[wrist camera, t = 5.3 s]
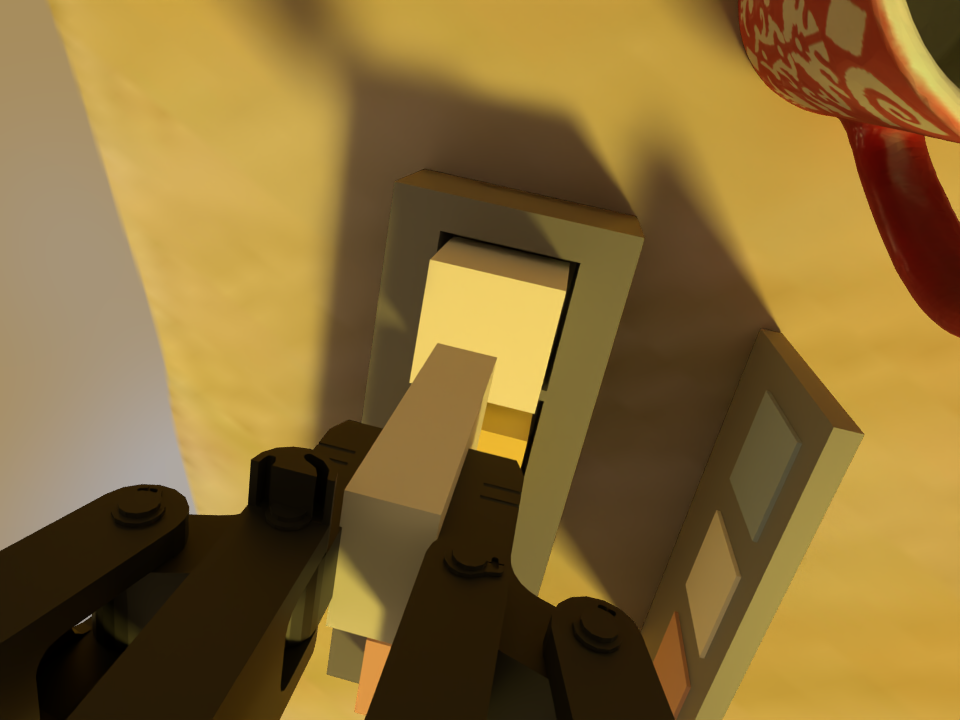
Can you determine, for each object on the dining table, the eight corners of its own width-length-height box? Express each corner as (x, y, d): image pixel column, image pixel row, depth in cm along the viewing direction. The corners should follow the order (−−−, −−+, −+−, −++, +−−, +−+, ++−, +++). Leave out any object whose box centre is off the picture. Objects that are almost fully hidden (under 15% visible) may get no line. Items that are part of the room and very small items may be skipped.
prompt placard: (756, 327, 24) (828, 425, 17) (781, 333, 24) (864, 434, 17) (635, 637, 31) (649, 807, 23) (654, 643, 31) (674, 814, 23)
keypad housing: (424, 168, 24) (394, 181, 20) (636, 216, 24) (644, 238, 20) (356, 610, 33) (326, 674, 29) (509, 652, 32) (499, 723, 29)
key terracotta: (392, 577, 28) (366, 639, 25) (483, 601, 27) (468, 668, 24) (380, 644, 29) (354, 712, 26) (465, 668, 29) (450, 739, 26)
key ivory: (453, 236, 22) (429, 259, 19) (570, 262, 22) (566, 291, 18) (434, 343, 23) (409, 382, 20) (542, 370, 23) (534, 414, 20)
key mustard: (429, 368, 24) (404, 410, 21) (536, 394, 24) (527, 441, 20) (413, 459, 25) (387, 512, 22) (512, 485, 25) (501, 542, 22)
